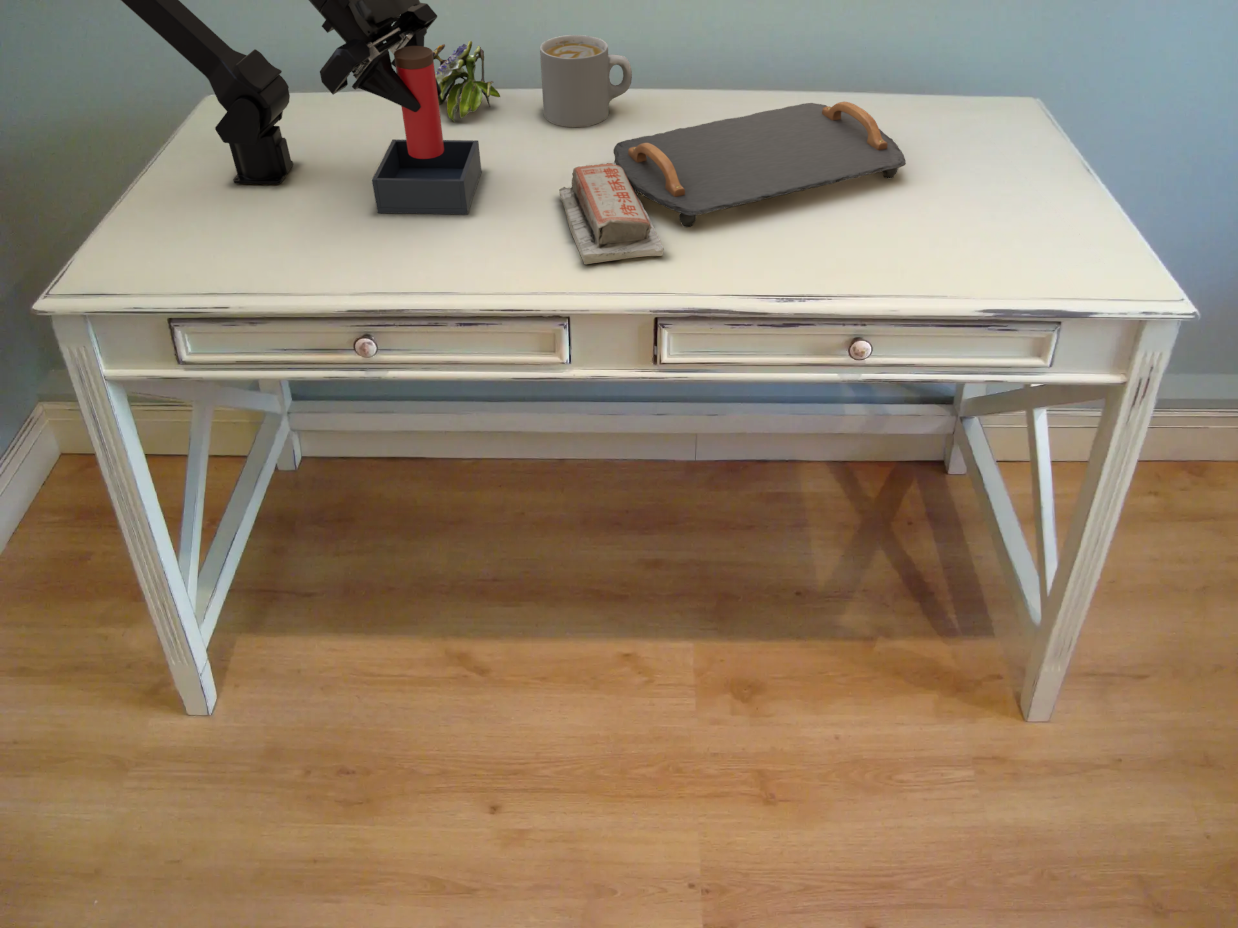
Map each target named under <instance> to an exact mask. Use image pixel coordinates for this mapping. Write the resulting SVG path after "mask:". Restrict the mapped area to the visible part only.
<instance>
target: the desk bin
mask: <svg viewBox="0 0 1238 928" xmlns="http://www.w3.org/2000/svg"><path fill="white" fill-rule="evenodd" d="M443 143H444V152H443V153H442V154H441V155H440V156H437V157H434V158H430V159H418V158H414V157H412V156H410V155H409V154H408V148H407V141H406V139H400V138H399V139H391V141H390V143H389V145H388V148H387V149H386V150H385V153H384V155H383V157H382V159H381V161H380V163H379V164H378V167H377V169H376V171H375V173H374V175H373V177H372V178H371V184H372V190H373V195H374V201H375V207H376V212H377V214H407V215H409V214H411V215H414V214H415V215H416V214H417V215H419V214H421V215H468V214H469V212H470V208H471V205H472V202H473V199H474V196H475V193H476V190H477V187H478V184H479V181H480V178H481V175H482V163H481V153H480V144H479V143H480V141H479V140H473V139H471V140H467V139H462V140H461V139H443Z"/></svg>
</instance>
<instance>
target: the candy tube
mask: <svg viewBox="0 0 1238 928" xmlns="http://www.w3.org/2000/svg"><path fill="white" fill-rule="evenodd" d="M432 51H433V50H432V49H431V48H430V47H427V46H425V45H424V46H408V47H403V48H400V49H398V50H396V51H395V52H394V55H393V57H394V58H393V60H394V59H395V66H396V67H395V72H396V73H397V74H398V76H399V77H400V78H401V80H402V81H403V82H404V83H405V85H406V86H407V87H408V88H409V90H410V91H411V92H412V94H413V95H414V96H415V98H416V99H417V101H418V102H419V104H420V105H421V108H420V109H419V110H418V111H417V112H413V111H411V110H409V109H407V108H405V107H402V106H400V107H401V112H402V120H403V129H404V133H405V140H406V141H407V148H408V154H409V155H410V156H412V157H414V158H418V159H430V158H434V157H437V156H440V155H441V154H442V153H443V152H444V143H443V140H444V137H443V136H444V135H443V127H442V119H441V112H440V104H439V102H438V93H437V85H436V77H435V74H436V71H435V62H434V60H433V52H432Z"/></svg>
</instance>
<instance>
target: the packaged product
mask: <svg viewBox="0 0 1238 928" xmlns="http://www.w3.org/2000/svg"><path fill="white" fill-rule="evenodd" d="M571 175H572V176H571V186H570V187H565V186H563V187H560V188H559V189H558V191H559V197H560V200H561V202H562V205H563V208H564V211H565V216H566V220H567V223H568V227H569V230H570V233H571V236H572V238H573V241H574V243H575V245H576V248H577V250H578V253H579V254H580V257H581V260H582V262H583V264H584V265H591V264H597V263H603V262H611V261H619V260H627V259H632V258H640V257H663V256H664V251H665V247H664V246H663V244H662V241H661V239H660V237H659V235H658V234H657V231H656V229H655V227H654V225H653V223H652V221H651V219H650V217H649V215H648V212H647V211H646V210H645V209H644V205H643V203H642V201H641V199H640V197H639V195H638V193H637V191H636V190H635V189H634V188H633V187H632V186H631V184H630V182H629V180H628V178H627V176H626V174H625V172H624V170H623V168H621V167H620V166H618V165H616V164H615V163H614V164H613V162H612V163H611V162H607V163H600V164H591V165H590V164H588V165H582V166H576V167H574V168H573V170H572V174H571Z"/></svg>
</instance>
